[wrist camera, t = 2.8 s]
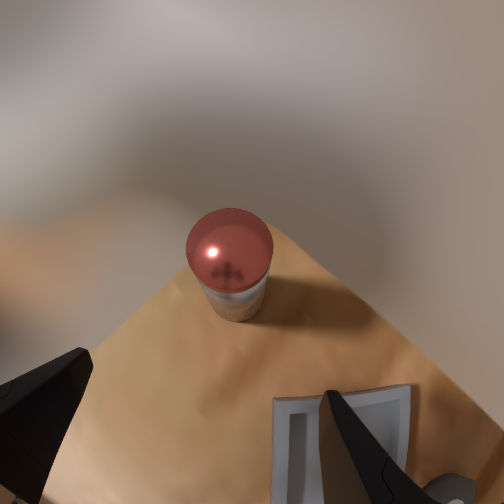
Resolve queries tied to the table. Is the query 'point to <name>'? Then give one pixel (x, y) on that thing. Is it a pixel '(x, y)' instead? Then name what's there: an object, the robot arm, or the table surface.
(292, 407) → the tray
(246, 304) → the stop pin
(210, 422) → the table surface
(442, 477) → the trolley wheel
